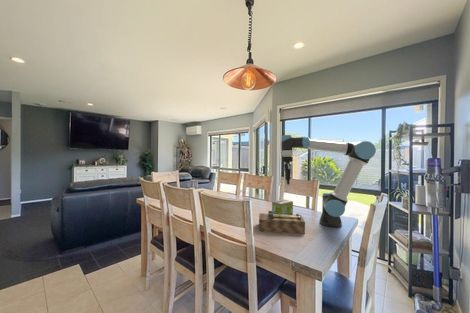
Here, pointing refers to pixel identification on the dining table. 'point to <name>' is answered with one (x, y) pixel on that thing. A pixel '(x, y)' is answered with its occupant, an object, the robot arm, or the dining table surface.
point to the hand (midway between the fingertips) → (288, 188)
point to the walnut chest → (281, 223)
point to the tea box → (282, 207)
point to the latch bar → (285, 216)
